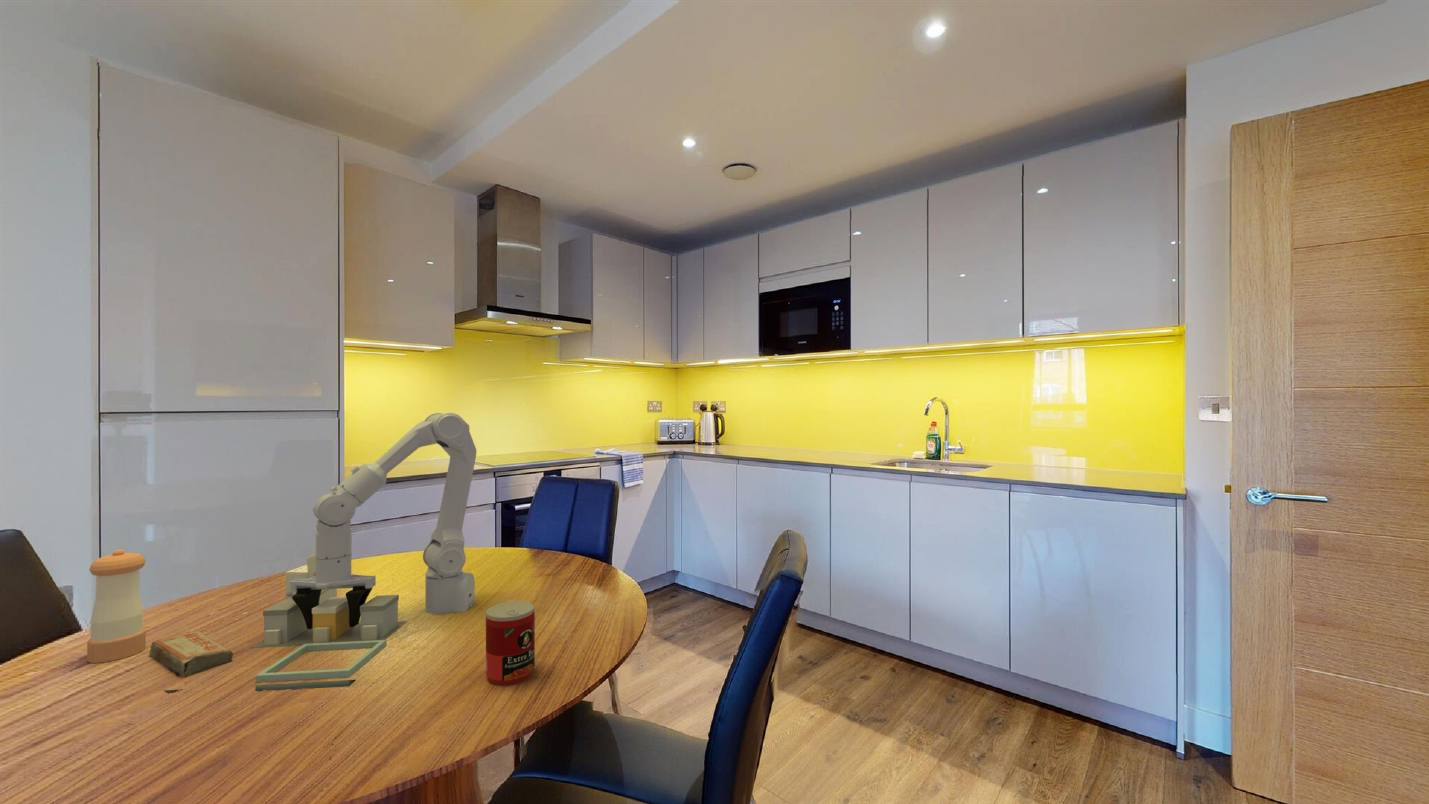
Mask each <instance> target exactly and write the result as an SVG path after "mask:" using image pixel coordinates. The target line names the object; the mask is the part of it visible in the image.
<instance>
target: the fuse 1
mask: <svg viewBox="0 0 1429 804" xmlns="http://www.w3.org/2000/svg"><path fill="white" fill-rule="evenodd" d="M262 616H263V632H264V631H266V630H275V629H281V642H287V641H289V640H291V639H292V638H294V637H296V636H297V635H299V634H300V633H302V632H304V631H305V630H307V626H306V623H305V620H304V617H303V614H302V612H301V610H300V609H299V607H298V606H297V604H296V603H295V602H294V601H293V599H286V598H285V599H284V600H281V601H280V602H278V603H275V604H274V605H272V606H270V607H268V608H266V609H264V610H262Z"/></svg>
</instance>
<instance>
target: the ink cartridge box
mask: <svg viewBox="0 0 1429 804" xmlns="http://www.w3.org/2000/svg"><path fill="white" fill-rule="evenodd" d="M310 577H316V553H314V554H311V555H309V556H307V557H306V564H305V565H302V566H299V567H297V568H294V569H291V570H287V571H286V572H285V588H286V589H285V595H286V596H285V600H286V599H293V598H292V596H293V595H295V594H296V592H297V591H290V582H291V581H293V580H295V579H298V578H310ZM333 597H338V589H322V590H321V594H320V599H319V604H321V603H323V602H325V601H326V600H328V599H330V598H333Z"/></svg>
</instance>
